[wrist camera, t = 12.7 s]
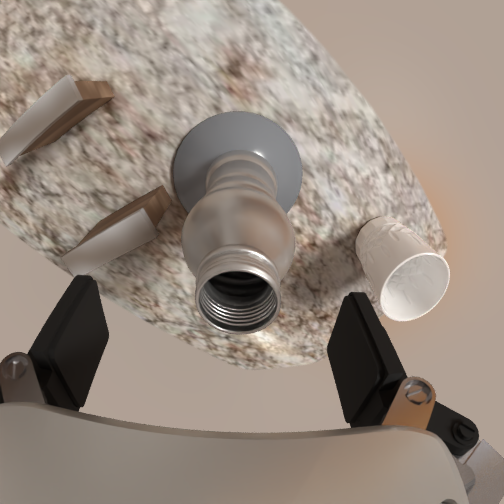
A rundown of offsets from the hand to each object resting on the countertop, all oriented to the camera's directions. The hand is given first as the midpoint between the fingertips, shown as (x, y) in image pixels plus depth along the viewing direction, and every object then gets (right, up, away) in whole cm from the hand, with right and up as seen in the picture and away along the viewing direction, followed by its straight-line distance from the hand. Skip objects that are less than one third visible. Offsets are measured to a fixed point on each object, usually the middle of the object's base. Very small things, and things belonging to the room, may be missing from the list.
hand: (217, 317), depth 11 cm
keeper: (-14, +12, +18) cm, 26 cm away
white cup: (+17, +4, +24) cm, 29 cm away
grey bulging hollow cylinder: (0, +10, +20) cm, 22 cm away
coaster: (0, +10, +20) cm, 22 cm away
